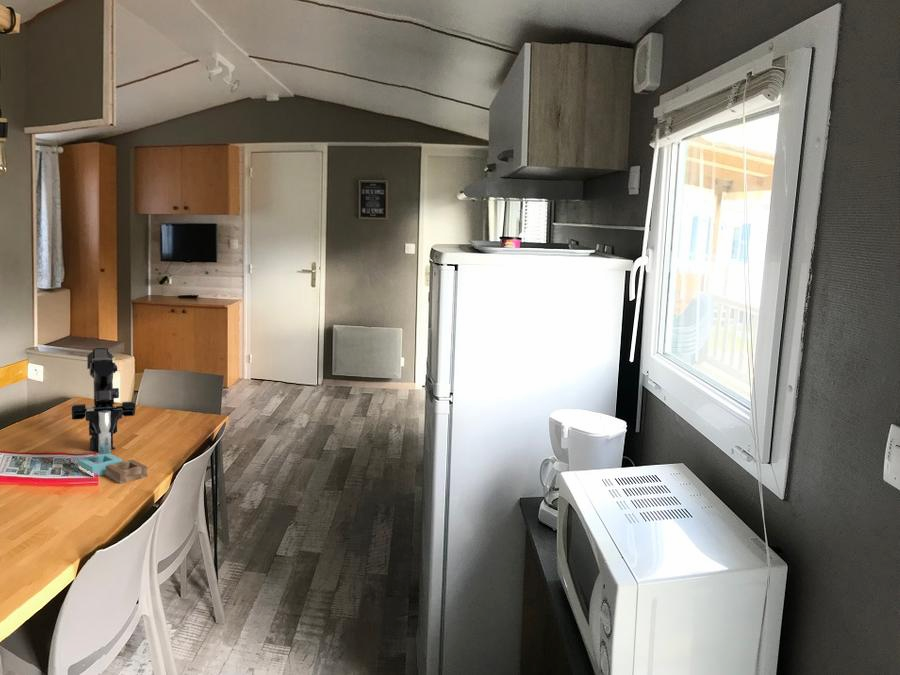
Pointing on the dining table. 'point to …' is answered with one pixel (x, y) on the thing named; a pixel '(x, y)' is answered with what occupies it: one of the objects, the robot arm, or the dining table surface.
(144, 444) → the dining table surface
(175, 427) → the dining table surface
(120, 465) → the brown square socket block
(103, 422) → the steel rod
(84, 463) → the seat block
